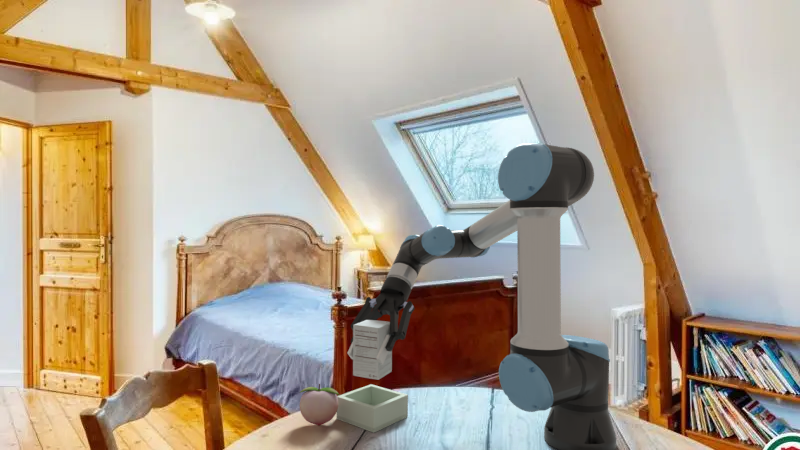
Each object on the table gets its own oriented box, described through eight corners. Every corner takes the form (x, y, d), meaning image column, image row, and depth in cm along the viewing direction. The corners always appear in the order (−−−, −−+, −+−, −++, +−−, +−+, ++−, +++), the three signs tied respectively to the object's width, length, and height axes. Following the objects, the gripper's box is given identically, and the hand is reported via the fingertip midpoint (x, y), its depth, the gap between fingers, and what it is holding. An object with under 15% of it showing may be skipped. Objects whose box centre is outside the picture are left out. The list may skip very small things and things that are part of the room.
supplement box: (366, 367, 132) (367, 318, 132) (392, 372, 129) (393, 321, 128) (351, 375, 125) (352, 324, 125) (378, 380, 122) (379, 327, 122)
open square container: (407, 416, 128) (407, 394, 127) (373, 432, 118) (374, 408, 118) (370, 404, 135) (371, 384, 135) (336, 418, 126) (336, 396, 126)
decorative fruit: (297, 434, 117) (297, 390, 116) (300, 420, 125) (300, 379, 125) (339, 432, 118) (339, 389, 118) (339, 418, 126) (339, 378, 126)
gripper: (437, 296, 135) (407, 373, 121) (371, 289, 145) (336, 360, 131) (428, 278, 130) (396, 356, 116) (361, 272, 140) (324, 344, 126)
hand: (364, 358), depth 124 cm, fingers closed on supplement box, 8 cm apart
